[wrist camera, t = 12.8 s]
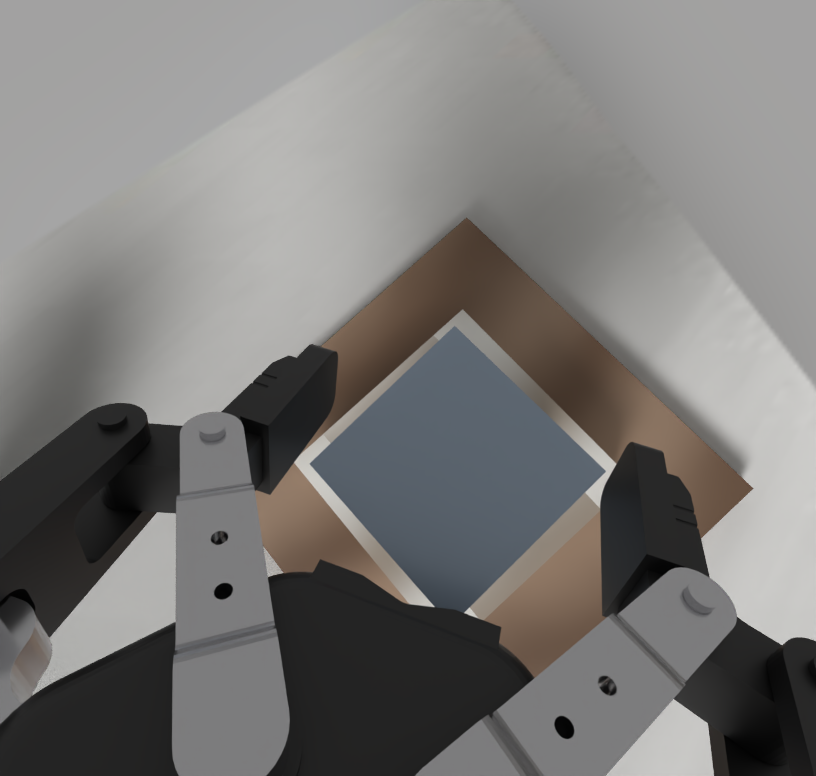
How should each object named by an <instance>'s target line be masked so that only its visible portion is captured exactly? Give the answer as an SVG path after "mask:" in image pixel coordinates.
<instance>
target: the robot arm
mask: <svg viewBox="0 0 816 776" xmlns="http://www.w3.org/2000/svg"><path fill="white" fill-rule="evenodd" d="M337 368H338V353H337V352H336V351H333V350H330V349H326V348H323V347H320V346H316V345H313V344H311V345H309V346H308V347H307V348H306V349H305V350H304V351H303V352H302V353H301V354H300V355H299V356H298V357H297V358H295V357H292V356H287V357H284V358H282V359H280V360H277V361H275V362H273V363H272V364H271V365H270V366H269V367H268V368H267V369H266V370H265V371H263V372H262V375H259V376H258V377H257V378H256V379H255V380H254V381H253V384H252V383H251V384H250V385H249V386H248V387H247V388H246V389H245V390H244V391H243V392H242V393H241V394H239V395H238V396H237V397H236V398H235V399H234V400H233V401H232V402H231V403H230V404H229V405H228V406H227V407H226V408H225V409H224V410H223V411H222V412H209V413H204V414H200V415H198V416H195V417H193V418H191V419H190V420H188V421H187V422H186V423H185V424H184V425H183V426H174V425H161V424H148V419H147V415H146V413H145V411H144V410H143V409H142V408H140V407H138V406H136V405H132V404H127V403H115V404H109V405H105V406H101V407H98V408H96V409H94V410H92V411H90V412H89V413H87V414H86V415H84V416H83V417H82V418H81V419H79V420H78V421H77V422H75V423H74V424H73V425H72V426H70V427H69V428H68V429H66V430H65V431H64V432H63V433H61V434H60V435H59V436H57V437H56V438H55V439H54V440H52V441H51V442H50V443H48V444H47V445H46V446H45V447H43V448H42V449H41V450H39V451H38V452H37V453H36V454H34V455H33V456H32V457H31V458H29V459H28V460H27V461H25V462H24V463H23V464H22V465H20V466H19V467H18V468H16V469H15V470H14V471H13V472H11V473H10V474H9V475H7V476H6V477H5V478H4V479H2V480H1V481H0V776H606V775H607V773H608V772H609V771H610V770H611V769H612V768H613V767H614V766H615V764H616V763H617V762H618V761H619V760H620V759H621V758H622V756H623V755H624V754H625V753H626V752H627V751H628V750H629V749H630V747H631V746H632V745H633V744H634V743H635V742H636V741H637V739H638V738H639V737H640V736H641V735H642V734H643V733H644V732H645V730H646V729H647V728H648V727H649V726H650V725H651V724H652V723H653V721H654V720H655V719H656V718H657V717H658V716H659V715H660V713H661V712H662V711H663V710H664V709H665V708H666V707H667V706H668V704H669V703H670V702H671V701H672V700H673V699H674V700H676V701H677V702H679V703H680V704H682V705H683V706H684V707H686V708H687V709H689V710H690V711H691V712H693V713H694V714H696V715H697V716H698V717H700V718H701V719H703V720H704V721H706V722H707V723H708V727H709V735H710V744H711V752H712V760H713V769H714V776H816V641H814V640H811V639H807V638H798V637H796V638H792V639H790V640H788V641H787V642H786V643H785V644H783V645H780V644H779V643H777V642H775V641H774V640H772V639H771V638H769V637H767V636H766V635H764V634H762V633H761V632H759V631H757V630H756V629H754V628H753V627H751V626H749V625H748V624H746V623H745V622H743V621H742V620H740V619H739V618H738V617H737V614H736V610H735V607H734V605H733V603H732V601H731V599H730V598H729V596H728V595H727V593H726V592H725V591H724V590H723V589H722V588H721V587H720V586H719V585H718V584H717V583H716V582H715V581H713V580H712V579H711V578H710V577H709V573H708V568H707V564H706V559H705V555H704V550H703V546H702V542H701V537H700V533H699V529H698V528H697V526H698V524H697V520H696V515H695V514H694V506H693V502H692V498H691V494H690V492H689V491H688V490H687V488H686V487H685V485H684V484H683V482H682V481H681V479H680V478H679V477H678V476H675V475H672V474H668V473H667V468H666V463H665V457H664V453H663V451H661V450H658V449H654V448H651V447H648V446H644V445H641V444H638V443H635V442H630V443H629V444H628V445H627V446H626V448H625V450H624V451H623V453H622V455H621V457H620V459H619V460H618V462H617V464H616V466H615V468H614V469H613V471H612V473H611V475H610V477H609V478H608V480H607V482H606V484H605V486H604V489H603V492H602V496H601V501H600V528H601V580H602V616H604V617H607V618H606V619H604V620H603V621H602V622H601V623H600V624H598V625H597V626H596V627H595V628H594V629H592V630H591V631H590V632H589V633H588V634H587V635H585V636H584V637H583V638H582V639H581V640H579V641H578V642H577V643H576V644H575V645H573V646H572V647H571V648H570V649H569V650H568V651H566V652H565V653H564V654H563V655H562V656H560V657H559V658H558V659H557V660H556V661H554V662H553V663H552V664H551V665H550V666H549V667H547V668H546V669H545V670H544V671H543V672H541V673H540V674H539V675H538V676H537V677H535V678H534V676H533V675H532V674H531V672H530V671H529V670H528V669H527V667H526V666H525V665H524V664H523V663H522V662H521V661H520V660H519V659H518V658H517V657H516V656H515V655H514V654H513V653H512V652H511V651H509V650H508V649H507V648H506V647H504V646H503V645H502V644H500V643H499V640H500V634H501V627H500V626H497V625H495V624H492V623H489V622H487V621H484V620H481V619H479V618H476V617H473V616H471V615H468V614H465V613H463V612H460V611H457V610H454V609H446V608H437V607H429V606H421V605H412V604H406V603H404V602H402V601H400V600H398V599H397V598H395V597H394V596H393V595H391V594H390V593H388V592H387V591H385V590H384V589H382V588H381V587H379V586H378V585H377V584H375V583H374V582H372V581H371V580H369V579H368V578H366V577H365V576H363V575H361V574H359V573H356V572H353V571H351V570H348V569H345V568H343V567H340V566H337V565H335V564H332V563H329V562H327V561H324V560H321V559H320V560H319V562H318V564H317V566H316V568H315V570H314V571H313V572H288V573H282V574H278V575H273V576H270V577H268V576H267V569H266V563H265V556H264V549H263V543H262V536H261V529H260V523H259V516H258V509H257V502H256V496H255V491H256V490H257V491H260V492H263V493H266V494H269V495H271V493H272V492H273V491H274V489H275V488H276V487H277V485H278V484H279V482H280V481H281V480H282V478H283V477H284V476H285V474H286V473H287V472H288V470H289V469H290V467H291V466H292V465H293V463H294V462H295V461H296V459H297V458H298V457H299V455H300V454H301V452H302V451H303V450H304V448H305V447H306V446H307V444H308V443H309V441H310V440H311V439H312V437H313V436H314V435H315V433H316V432H317V431H318V429H319V428H320V426H321V425H322V424H323V422H324V421H325V420H326V418H327V417H328V415H329V414H330V412H331V409H332V407H333V404H334V400H335V394H336V381H337ZM157 512H164V513H176V622H174V623H172V624H170V625H168V626H166V627H164V628H162V629H160V630H158V631H156V632H154V633H152V634H150V635H148V636H146V637H144V638H142V639H140V640H138V641H136V642H134V643H132V644H130V645H128V646H126V647H124V648H122V649H120V650H118V651H116V652H114V653H112V654H110V655H108V656H106V657H104V658H102V659H100V660H98V661H96V662H94V663H92V664H90V665H88V666H86V667H83V668H81V669H79V670H77V671H75V672H73V673H71V674H69V675H67V676H65V677H63V678H61V679H59V680H57V681H55V682H54V683H52V684H50V685H48V686H47V687H45V688H43V689H42V690H40V691H39V692H37V693H36V694H34V695H33V696H32V694H33V691H34V690H35V688H36V686H37V684H38V681H39V680H40V678H41V677H42V675H43V674H44V672H45V671H46V669H47V667H48V665H49V663H50V659H51V656H52V644H51V641H50V639H49V638H50V636H51V635H52V634H53V633H54V632H55V631H56V629H57V628H58V627H59V626H60V625H61V624H62V622H63V621H64V620H65V619H66V618H67V617H68V615H69V614H70V613H71V612H72V611H73V610H74V608H75V607H76V606H77V605H78V604H79V603H80V601H81V600H82V599H83V598H84V597H85V596H86V594H87V593H88V592H89V591H90V590H91V589H92V587H93V586H94V585H95V584H96V583H97V582H98V580H99V579H100V578H101V577H102V576H103V575H104V573H105V572H106V571H107V570H108V569H109V568H110V566H111V565H112V564H113V563H114V562H115V561H116V559H117V558H118V557H119V556H120V555H121V554H122V553H123V551H124V550H125V549H126V548H127V547H128V546H129V544H130V543H131V542H132V541H133V540H134V539H135V537H136V536H137V535H138V534H139V533H140V532H141V530H142V529H143V528H144V527H145V526H146V525H147V523H148V522H149V521H150V520H151V519H152V518H153V516H154V515H155V514H156V513H157Z"/></svg>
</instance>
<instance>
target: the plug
mask: <svg viewBox="0 0 816 776" xmlns="http://www.w3.org/2000/svg"><path fill="white" fill-rule="evenodd" d="M310 465H311V466H312V467H313V469H314V470H315V471H316V472H317V473H318V474H319V475H320V477H321V478H322V479H323V480H324V481H325V482H326V483H327V485H328V486H329V487H330V488H331V489H332V490H333V491H334V493H335V494H336V495H337V496H338V497H339V498H340V499H341V501H342V502H343V503H344V504H345V505H346V506H347V507H348V509H349V510H350V511H351V512H352V513H353V514H354V515H355V517H356V518H357V519H358V520H359V521H360V522H361V523H362V525H363V526H364V527H365V528H366V529H367V530H368V531H369V533H370V534H371V535H372V536H373V537H374V538H375V539H376V540H377V542H378V543H379V544H380V545H381V546H382V547H383V548H384V550H385V551H386V552H387V553H388V554H389V555H390V556H391V558H392V559H393V560H394V561H395V562H396V563H397V564H398V566H399V567H400V568H401V569H402V570H403V571H404V572H405V574H406V575H407V576H408V577H409V578H410V579H411V580H412V582H413V583H414V584H415V585H416V586H417V587H418V588H419V590H420V591H421V592H422V593H423V594H424V595H425V596H426V598H427V599H428V600H429V601H430V602H431V603H432V604H433V606H434V607H437V608H446V609H454V610H457V611H460V612H463V613H464V612H465V611H466V610H468V609H469V608H470V607H471V606H472V605H473V604H474V603H475V602H476V601H477V600H478V599H479V598H480V597H481V596H482V595H483V594H484V593H485V592H486V591H487V590H488V589H489V588H490V587H491V586H492V585H493V584H494V583H495V582H496V581H497V580H498V579H499V578H500V577H501V576H502V575H503V574H504V573H505V572H506V571H507V570H508V569H509V568H510V567H511V566H512V565H513V564H514V563H515V562H516V561H517V560H518V559H519V558H520V557H521V556H522V555H523V554H524V553H525V552H526V551H527V550H528V549H529V548H530V547H531V546H532V545H533V544H534V543H535V542H536V541H537V540H538V539H539V538H540V537H541V536H542V535H543V534H544V533H545V532H546V531H547V530H548V529H549V528H550V527H551V526H552V525H553V524H554V523H555V522H556V521H557V520H558V519H559V518H560V517H561V516H562V515H563V514H564V513H565V512H566V511H567V510H568V509H569V508H570V507H571V506H572V505H573V504H574V503H575V502H576V501H577V500H578V499H579V498H580V497H581V496H582V495H583V494H584V493H585V492H586V491H587V490H588V489H589V488H590V487H591V486H592V485H593V484H594V483H595V482H596V481H597V480H598V479H599V478H600V477H601V476H602V475H603V474H604V473H605V472H606V471H605V470H604V469H603V468H602V467H601V466H600V465H599V464H598V463H597V462H596V461H595V460H594V459H593V458H592V457H591V456H590V455H589V454H588V453H587V452H586V451H585V450H584V449H582V448H581V447H580V446H579V445H578V444H577V443H576V442H575V441H574V440H573V439H572V438H571V437H570V436H569V435H568V434H567V433H566V432H565V431H564V430H563V429H562V428H561V427H560V426H559V425H558V424H556V423H555V422H554V421H553V420H552V419H551V418H550V417H549V416H548V415H547V414H546V413H545V412H544V411H543V410H542V409H541V408H540V407H539V406H538V405H537V404H536V403H535V402H534V401H533V400H531V399H530V398H529V397H528V396H527V395H526V394H525V393H524V392H523V391H522V390H521V389H520V388H519V387H518V386H517V385H516V384H515V383H514V382H513V381H512V380H511V379H510V378H509V377H508V376H506V375H505V374H504V373H503V372H502V371H501V370H500V369H499V368H498V367H497V366H496V365H495V364H494V363H493V362H492V361H491V360H490V359H489V358H488V357H487V356H486V355H485V354H484V353H483V352H481V351H480V350H479V349H478V348H477V347H476V346H475V345H474V344H473V343H472V342H471V341H470V340H469V339H468V338H467V337H466V336H465V335H464V334H463V333H462V332H461V331H460V330H459V329H458V328H457V327H455V326H454V327H453V328H452V329H451V330H450V331H449V332H447V333H446V334H445V335H444V336H443V337H442V338H441V339H440V340H439V341H438V342H437V343H436V344H435V345H434V346H433V347H432V348H431V349H430V350H429V351H427V352H426V353H425V354H424V355H423V356H422V357H421V358H420V359H419V360H418V361H417V362H416V363H415V364H414V365H413V366H412V367H411V368H410V369H408V370H407V371H406V372H405V373H404V374H403V375H402V376H401V377H400V378H399V379H398V380H397V381H396V382H395V383H394V384H393V385H392V386H391V387H390V388H388V389H387V390H386V391H385V392H384V393H383V394H382V395H381V396H380V397H379V398H378V399H377V400H376V401H375V402H374V403H373V404H372V405H371V406H370V407H368V408H367V409H366V410H365V411H364V412H363V413H362V414H361V415H360V416H359V417H358V418H357V419H356V420H355V421H354V422H353V423H352V424H351V425H350V426H348V427H347V428H346V429H345V430H344V431H343V432H342V433H341V434H340V435H339V436H338V437H337V438H336V439H335V440H334V441H333V442H332V443H331V444H330V445H328V446H327V447H326V448H325V449H324V450H323V451H322V452H321V453H320V454H319V455H318V456H317V457H316V458H315V459H314V460H313V461H312V462H311V463H310Z"/></svg>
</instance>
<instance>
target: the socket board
mask: <svg viewBox="0 0 816 776" xmlns="http://www.w3.org/2000/svg"><path fill="white" fill-rule="evenodd" d="M454 326H455V327H457V328H458V329H459V330H460V331H461V332H462V333H463V334H464V335H465V336H466V337H467V338H468V339H469V340H470V341H471V342H472V343H473V344H474V345H475V346H476V347H477V348H478V349H479V350H480V351H481V352H483V353H484V354H485V355H486V356H487V357H488V358H489V359H490V360H491V361H492V362H493V363H494V364H495V365H496V366H497V367H498V368H499V369H500V370H501V371H502V372H503V373H504V374H505V375H506V376H508V377H509V378H510V379H511V380H512V381H513V382H514V383H515V384H516V385H517V386H518V387H519V388H520V389H521V390H522V391H523V392H524V393H525V394H526V395H527V396H528V397H529V398H530V399H531V400H533V401H534V402H535V403H536V404H537V405H538V406H539V407H540V408H541V409H542V410H543V411H544V412H545V413H546V414H547V415H548V416H549V417H550V418H551V419H552V420H553V421H554V422H555V423H556V424H558V425H559V426H560V427H561V428H562V429H563V430H564V431H565V432H566V433H567V434H568V435H569V436H570V437H571V438H572V439H573V440H574V441H575V442H576V443H577V444H578V445H579V446H580V447H581V448H582V449H584V450H585V451H586V452H587V453H588V454H589V455H590V456H591V457H592V458H593V459H594V460H595V461H596V462H597V463H598V464H599V465H600V466H601V467H602V468H603V469H604V470H605V471H606V472H605V473H604V474H603V475H602V476H601V477H600V478H599V479H598V480H597V481H596V482H595V483H594V484H593V485H592V486H591V487H590V488H589V489H588V490H587V491H586V492H585V493H584V494H583V495H582V496H581V497H580V498H579V499H578V500H577V501H576V502H575V503H574V504H573V505H572V506H571V507H570V508H569V509H568V510H567V511H566V512H565V513H564V514H563V515H562V516H561V517H560V518H559V519H558V520H557V521H556V522H555V523H554V524H553V525H552V526H551V527H550V528H549V529H548V530H547V531H546V532H545V533H544V534H543V535H542V536H541V537H540V538H539V539H538V540H537V541H536V542H535V543H534V544H533V545H532V546H531V547H530V548H529V549H528V550H527V551H526V552H525V553H524V554H523V555H522V556H521V557H520V558H519V559H518V560H517V561H516V562H515V563H514V564H513V565H512V566H511V567H510V568H509V569H508V570H507V571H506V572H505V573H504V574H503V575H502V576H501V577H500V578H499V579H498V580H497V581H496V582H495V583H494V584H493V585H492V586H491V587H490V588H489V589H488V590H487V591H486V592H485V593H484V594H483V595H482V596H481V597H480V598H479V599H478V600H477V601H476V602H475V603H474V604H473V605H472V606H471V607H470V608H469V609H468V610H466V611H465V612H464V613H465V614H468V615H471V616H473V617H476V618H479V619H481V620H484V621H487V622H489V623H492V624H495V625H497V626H500V627H501V634H500V640H499V643H500V644H502V645H503V646H504V647H506V648H507V649H508V650H509V651H511V652H512V653H513V654H514V655H515V656H516V657H517V658H518V659H519V660H520V661H521V662H522V663H523V664H524V665H525V666H526V667H527V669H528V670H529V671H530V672H531V674H532V675H533V676H534V678H535V677H537V676H538V675H539V674H540V673H541V672H543V671H544V670H545V669H546V668H547V667H549V666H550V665H551V664H552V663H553V662H554V661H556V660H557V659H558V658H559V657H560V656H562V655H563V654H564V653H565V652H566V651H568V650H569V649H570V648H571V647H572V646H573V645H575V644H576V643H577V642H578V641H579V640H581V639H582V638H583V637H584V636H585V635H587V634H588V633H589V632H590V631H591V630H592V629H594V628H595V627H596V626H597V625H598V624H600V623H601V622H602V621H603V620H604V619H606V618H607V617H604V616H602V580H601V528H600V501H601V496H602V492H603V489H604V486H605V484H606V482H607V480H608V478H609V477H610V475H611V473H612V471H613V469H614V468H615V466H616V464H617V462H618V460H619V459H620V457H621V455H622V453H623V451H624V450H625V448H626V446H627V445H628V444H629V443H630V442H635V443H638V444H641V445H644V446H648V447H651V448H654V449H658V450H661V451H663V453H664V457H665V463H666V468H667V473H668V474H672V475H675V476H678V477H679V478H680V479H681V481H682V482H683V484H684V485H685V487H686V488H687V490H688V491H689V492H690V494H691V498H692V502H693V506H694V514H695V515H696V520H697V524H698V526H697V528H698V529H699V533H700V537H701V538H702V537H703V536H704V535H705V534H706V533H707V532H708V531H709V530H710V529H711V528H712V527H713V526H714V525H716V524H717V523H718V522H719V521H720V520H721V519H722V518H723V517H724V516H725V515H726V514H727V513H728V512H729V511H730V510H731V509H732V508H733V507H734V506H735V505H736V504H737V503H739V502H740V501H741V500H742V499H743V498H744V497H745V496H746V495H747V494H748V493H749V492H750V491H751V490H752V489H753V488H752V487H751V486H750V485H749V484H748V483H747V482H746V481H745V480H744V479H743V478H742V477H741V476H739V475H738V474H737V473H736V472H735V471H734V470H733V469H732V468H731V467H730V466H729V465H728V464H727V463H726V462H725V461H724V460H723V459H721V458H720V457H719V456H718V455H717V454H716V453H715V452H714V451H713V450H712V449H711V448H710V447H709V446H708V445H707V444H706V443H705V442H704V441H702V440H701V439H700V438H699V437H698V436H697V435H696V434H695V433H694V432H693V431H692V430H691V429H690V428H689V427H688V426H687V425H686V424H684V423H683V422H682V421H681V420H680V419H679V418H678V417H677V416H676V415H675V414H674V413H673V412H672V411H671V410H670V409H669V408H668V407H666V406H665V405H664V404H663V403H662V402H661V401H660V400H659V399H658V398H657V397H656V396H655V395H654V394H653V393H652V392H651V391H650V390H649V389H647V388H646V387H645V386H644V385H643V384H642V383H641V382H640V381H639V380H638V379H637V378H636V377H635V376H634V375H633V374H632V373H631V372H629V371H628V370H627V369H626V368H625V367H624V366H623V365H622V364H621V363H620V362H619V361H618V360H617V359H616V358H615V357H614V356H613V355H611V354H610V353H609V352H608V351H607V350H606V349H605V348H604V347H603V346H602V345H601V344H600V343H599V342H598V341H597V340H596V339H595V338H594V337H592V336H591V335H590V334H589V333H588V332H587V331H586V330H585V329H584V328H583V327H582V326H581V325H580V324H579V323H578V322H577V321H576V320H574V319H573V318H572V317H571V316H570V315H569V314H568V313H567V312H566V311H565V310H564V309H563V308H562V307H561V306H560V305H559V304H558V303H556V302H555V301H554V300H553V299H552V298H551V297H550V296H549V295H548V294H547V293H546V292H545V291H544V290H543V289H542V288H541V287H540V286H539V285H537V284H536V283H535V282H534V281H533V280H532V279H531V278H530V277H529V276H528V275H527V274H526V273H525V272H524V271H523V270H522V269H521V268H519V267H518V266H517V265H516V264H515V263H514V262H513V261H512V260H511V259H510V258H509V257H508V256H507V255H506V254H505V253H504V252H503V251H501V250H500V249H499V248H498V247H497V246H496V245H495V244H494V243H493V242H492V241H491V240H490V239H489V238H488V237H487V236H486V235H485V234H484V233H482V232H481V231H480V230H479V229H478V228H477V227H476V226H475V225H474V224H473V223H472V222H471V221H470V220H469V219H468V218H466V219H465V220H463V221H462V222H461V223H460V224H459V225H458V226H457V227H456V228H454V229H453V230H452V231H451V232H450V233H449V234H448V235H447V236H445V237H444V238H443V239H442V240H441V241H440V242H439V243H437V244H436V245H435V246H434V247H433V248H432V249H431V250H430V251H428V252H427V253H426V254H425V255H424V256H423V257H422V258H420V259H419V260H418V261H417V262H416V263H415V264H414V265H413V266H411V267H410V268H409V269H408V270H407V271H406V272H405V273H403V274H402V275H401V276H400V277H399V278H398V279H397V280H396V281H394V282H393V283H392V284H391V285H390V286H389V287H388V288H387V289H385V290H384V291H383V292H382V293H381V294H380V295H379V296H377V297H376V298H375V299H374V300H373V301H372V302H371V303H370V304H368V305H367V306H366V307H365V308H364V309H363V310H362V311H360V312H359V313H358V314H357V315H356V316H355V317H354V318H353V319H351V320H350V321H349V322H348V323H347V324H346V325H345V326H344V327H342V328H341V329H340V330H339V331H338V332H337V333H336V334H334V335H333V336H332V337H331V338H330V339H329V340H328V341H327V342H325V343H324V344H323V345H322V346H321V347H323V348H326V349H330V350H333V351H336V352H337V353H338V368H337V381H336V394H335V400H334V404H333V407H332V409H331V412H330V414H329V415H328V417H327V418H326V420H325V421H324V422H323V424H322V425H321V426H320V428H319V429H318V431H317V432H316V433H315V435H314V436H313V437H312V439H311V440H310V441H309V443H308V444H307V446H306V447H305V448H304V450H303V451H302V452H301V454H300V455H299V457H298V458H297V459H296V461H295V462H294V463H293V465H292V466H291V467H290V469H289V470H288V472H287V473H286V474H285V476H284V477H283V478H282V480H281V481H280V482H279V484H278V485H277V487H276V488H275V489H274V491H273V492H272V493H271V495H269V494H266V493H263V492H260V491H257V490H256V491H255V496H256V502H257V509H258V516H259V523H260V529H261V536H262V543H263V546H264V547H265V549H266V550H267V551H268V553H269V554H270V555H271V557H272V558H273V559H274V561H275V562H276V563H277V565H278V566H279V567H280V568H281V570H282V571H283V572H284V573H288V572H313V571H314V570H315V568H316V566H317V564H318V562H319V560H320V559H321V560H324V561H327V562H329V563H332V564H335V565H337V566H340V567H343V568H345V569H348V570H351V571H353V572H356V573H359V574H361V575H363V576H365V577H366V578H368V579H369V580H371V581H372V582H374V583H375V584H377V585H378V586H379V587H381V588H382V589H384V590H385V591H387V592H388V593H390V594H391V595H393V596H394V597H395V598H397V599H398V600H400V601H402V602H404V603H406V604H412V605H421V606H429V607H434V606H433V604H432V603H431V602H430V601H429V600H428V599H427V598H426V596H425V595H424V594H423V593H422V592H421V591H420V590H419V588H418V587H417V586H416V585H415V584H414V583H413V582H412V580H411V579H410V578H409V577H408V576H407V575H406V574H405V572H404V571H403V570H402V569H401V568H400V567H399V566H398V564H397V563H396V562H395V561H394V560H393V559H392V558H391V556H390V555H389V554H388V553H387V552H386V551H385V550H384V548H383V547H382V546H381V545H380V544H379V543H378V542H377V540H376V539H375V538H374V537H373V536H372V535H371V534H370V533H369V531H368V530H367V529H366V528H365V527H364V526H363V525H362V523H361V522H360V521H359V520H358V519H357V518H356V517H355V515H354V514H353V513H352V512H351V511H350V510H349V509H348V507H347V506H346V505H345V504H344V503H343V502H342V501H341V499H340V498H339V497H338V496H337V495H336V494H335V493H334V491H333V490H332V489H331V488H330V487H329V486H328V485H327V483H326V482H325V481H324V480H323V479H322V478H321V477H320V475H319V474H318V473H317V472H316V471H315V470H314V469H313V467H312V466H311V465H310V463H311V462H312V461H313V460H314V459H315V458H316V457H317V456H318V455H319V454H320V453H321V452H322V451H323V450H324V449H325V448H326V447H327V446H328V445H330V444H331V443H332V442H333V441H334V440H335V439H336V438H337V437H338V436H339V435H340V434H341V433H342V432H343V431H344V430H345V429H346V428H347V427H348V426H350V425H351V424H352V423H353V422H354V421H355V420H356V419H357V418H358V417H359V416H360V415H361V414H362V413H363V412H364V411H365V410H366V409H367V408H368V407H370V406H371V405H372V404H373V403H374V402H375V401H376V400H377V399H378V398H379V397H380V396H381V395H382V394H383V393H384V392H385V391H386V390H387V389H388V388H390V387H391V386H392V385H393V384H394V383H395V382H396V381H397V380H398V379H399V378H400V377H401V376H402V375H403V374H404V373H405V372H406V371H407V370H408V369H410V368H411V367H412V366H413V365H414V364H415V363H416V362H417V361H418V360H419V359H420V358H421V357H422V356H423V355H424V354H425V353H426V352H427V351H429V350H430V349H431V348H432V347H433V346H434V345H435V344H436V343H437V342H438V341H439V340H440V339H441V338H442V337H443V336H444V335H445V334H446V333H447V332H449V331H450V330H451V329H452V328H453V327H454Z"/></svg>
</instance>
